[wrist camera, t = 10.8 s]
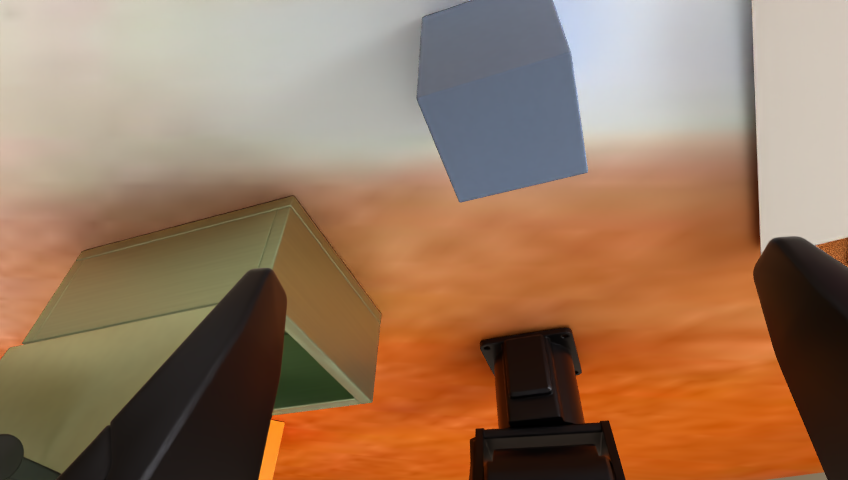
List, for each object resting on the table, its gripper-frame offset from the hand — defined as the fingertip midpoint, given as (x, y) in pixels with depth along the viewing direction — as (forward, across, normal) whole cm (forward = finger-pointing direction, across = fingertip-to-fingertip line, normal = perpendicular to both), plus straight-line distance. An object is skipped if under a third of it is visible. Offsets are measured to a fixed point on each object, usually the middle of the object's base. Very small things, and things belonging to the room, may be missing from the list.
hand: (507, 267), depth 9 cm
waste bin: (+13, +16, +16) cm, 26 cm away
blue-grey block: (+13, -1, +2) cm, 13 cm away
